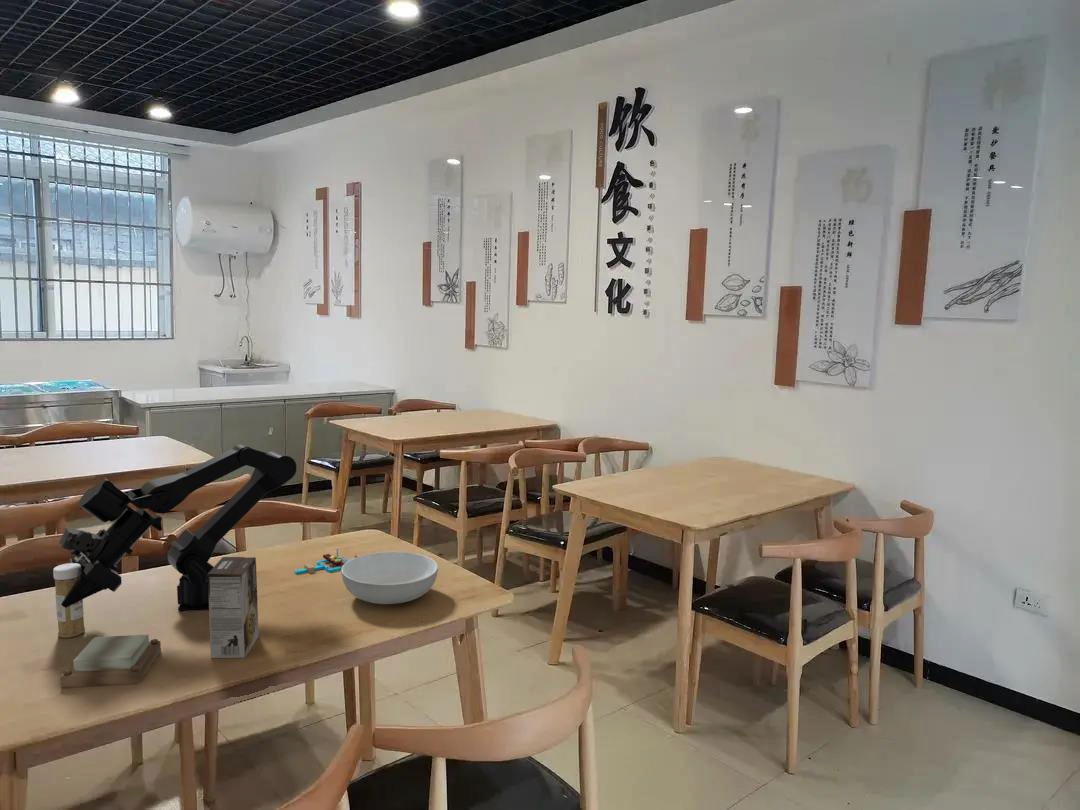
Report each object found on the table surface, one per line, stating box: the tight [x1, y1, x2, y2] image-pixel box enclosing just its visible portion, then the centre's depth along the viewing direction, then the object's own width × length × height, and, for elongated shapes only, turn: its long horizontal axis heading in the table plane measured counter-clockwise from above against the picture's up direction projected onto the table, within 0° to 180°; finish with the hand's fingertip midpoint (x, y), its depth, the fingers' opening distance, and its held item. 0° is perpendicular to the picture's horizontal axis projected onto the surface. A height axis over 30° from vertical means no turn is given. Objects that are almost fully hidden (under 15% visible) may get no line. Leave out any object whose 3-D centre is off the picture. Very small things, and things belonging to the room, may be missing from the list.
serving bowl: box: [340, 551, 439, 605], centre depth 170 cm, size 21×21×7 cm
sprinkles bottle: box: [52, 563, 86, 639], centre depth 147 cm, size 5×5×14 cm
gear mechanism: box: [293, 547, 364, 575], centre depth 189 cm, size 20×5×9 cm
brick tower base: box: [59, 634, 162, 689], centre depth 135 cm, size 12×12×4 cm
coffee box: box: [207, 556, 260, 659], centre depth 143 cm, size 9×6×16 cm
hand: (60, 602), depth 147 cm, fingers closed on sprinkles bottle, 4 cm apart
